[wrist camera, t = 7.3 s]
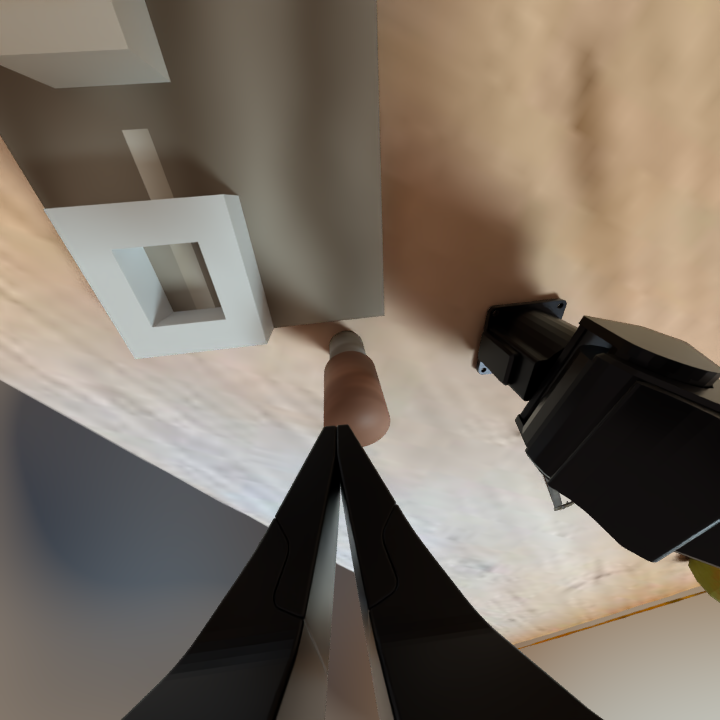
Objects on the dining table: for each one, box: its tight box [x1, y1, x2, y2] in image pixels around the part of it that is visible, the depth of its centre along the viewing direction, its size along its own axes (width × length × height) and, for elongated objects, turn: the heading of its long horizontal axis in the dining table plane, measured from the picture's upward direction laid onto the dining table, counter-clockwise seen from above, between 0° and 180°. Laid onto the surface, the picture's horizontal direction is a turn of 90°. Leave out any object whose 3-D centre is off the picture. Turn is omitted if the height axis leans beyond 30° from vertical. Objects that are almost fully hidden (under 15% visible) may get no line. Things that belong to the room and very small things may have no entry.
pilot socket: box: [44, 194, 274, 359], centre depth 15 cm, size 8×8×2 cm
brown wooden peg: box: [324, 331, 390, 447], centre depth 18 cm, size 4×4×9 cm
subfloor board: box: [0, 0, 384, 328], centre depth 13 cm, size 18×22×2 cm
